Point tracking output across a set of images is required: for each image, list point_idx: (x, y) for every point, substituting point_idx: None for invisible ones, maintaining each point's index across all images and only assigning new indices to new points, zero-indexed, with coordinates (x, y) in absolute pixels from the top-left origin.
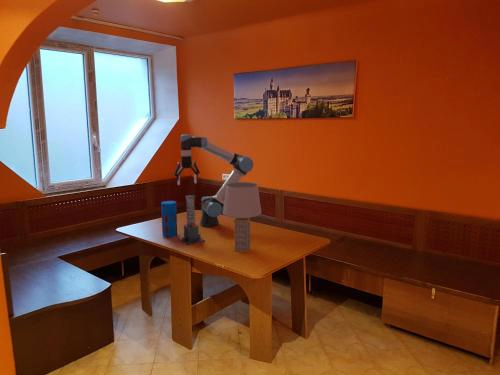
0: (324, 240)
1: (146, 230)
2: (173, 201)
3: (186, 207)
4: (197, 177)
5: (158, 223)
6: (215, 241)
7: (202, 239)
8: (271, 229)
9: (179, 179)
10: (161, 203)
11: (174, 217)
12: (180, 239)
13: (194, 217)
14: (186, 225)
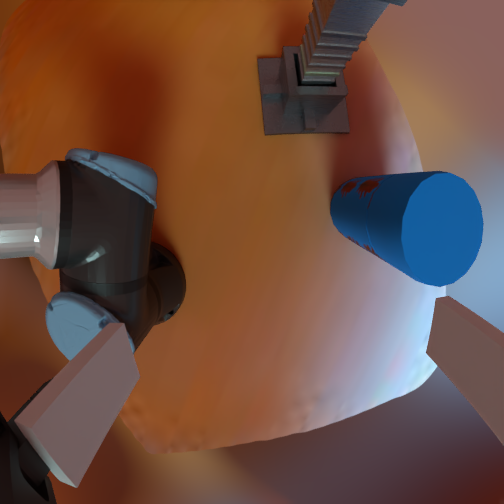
0: (10, 17)
1: (402, 322)
2: (411, 245)
3: (365, 38)
4: (39, 389)
5: (329, 389)
6: (220, 45)
7: (263, 68)
8: (14, 120)
9: (501, 341)
10: (480, 238)
11: (382, 176)
12: (346, 114)
13: (305, 35)
14: (336, 82)
